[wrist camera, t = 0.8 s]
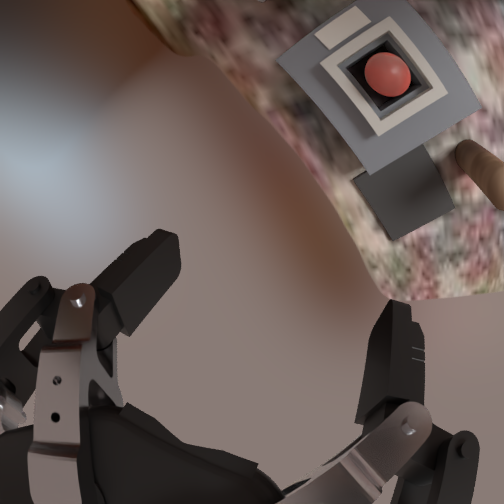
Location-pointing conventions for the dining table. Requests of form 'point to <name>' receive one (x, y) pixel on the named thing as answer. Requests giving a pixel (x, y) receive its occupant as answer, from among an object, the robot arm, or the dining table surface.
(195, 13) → the dining table surface
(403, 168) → the mat
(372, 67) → the plunger
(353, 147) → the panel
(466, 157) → the dowel
